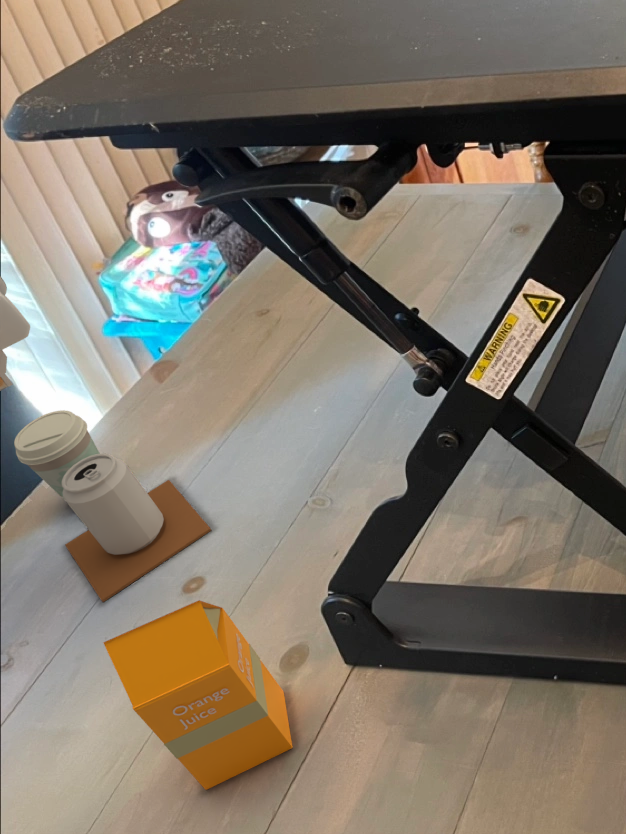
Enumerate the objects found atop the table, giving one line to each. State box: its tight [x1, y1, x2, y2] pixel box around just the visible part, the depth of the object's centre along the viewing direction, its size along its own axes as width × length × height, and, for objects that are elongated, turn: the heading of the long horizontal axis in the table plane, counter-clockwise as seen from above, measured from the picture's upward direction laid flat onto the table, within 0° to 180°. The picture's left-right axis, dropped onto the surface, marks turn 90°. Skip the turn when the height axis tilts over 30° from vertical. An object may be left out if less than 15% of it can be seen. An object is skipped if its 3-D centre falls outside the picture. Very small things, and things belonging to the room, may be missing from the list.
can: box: [62, 452, 164, 555], centre depth 131 cm, size 8×8×12 cm
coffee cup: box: [13, 409, 101, 501], centre depth 139 cm, size 9×8×12 cm
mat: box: [64, 479, 212, 603], centre depth 135 cm, size 14×14×1 cm
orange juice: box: [102, 600, 294, 791], centre depth 103 cm, size 8×9×20 cm
